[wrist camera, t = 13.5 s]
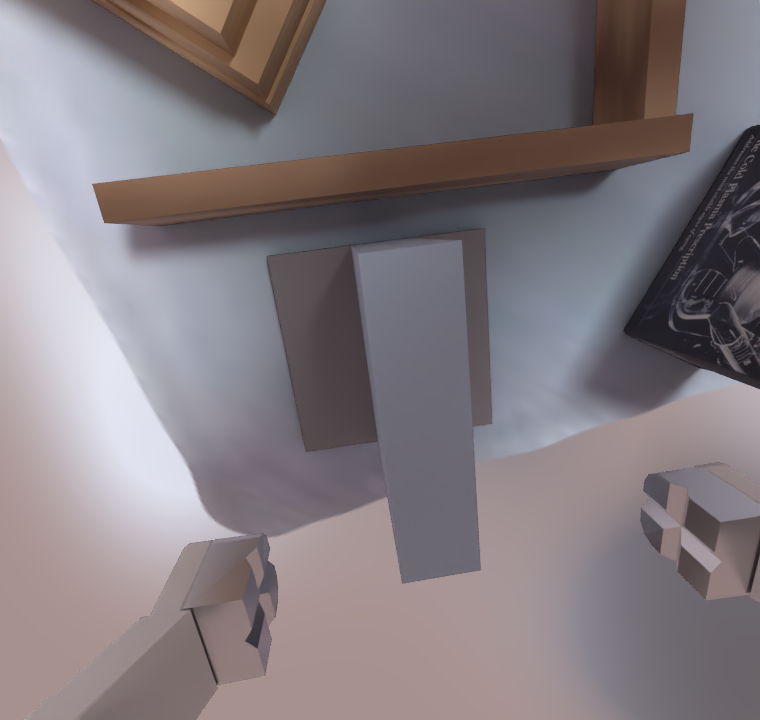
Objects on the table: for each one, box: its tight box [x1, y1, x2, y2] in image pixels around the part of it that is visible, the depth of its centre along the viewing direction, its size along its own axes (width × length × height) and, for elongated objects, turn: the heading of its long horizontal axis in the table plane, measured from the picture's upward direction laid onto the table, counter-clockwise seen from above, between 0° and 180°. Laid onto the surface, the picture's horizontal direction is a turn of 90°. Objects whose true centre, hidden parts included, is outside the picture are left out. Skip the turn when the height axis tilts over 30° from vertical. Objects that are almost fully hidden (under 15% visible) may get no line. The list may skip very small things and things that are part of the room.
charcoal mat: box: [267, 229, 492, 452], centre depth 24 cm, size 12×12×1 cm
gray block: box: [351, 238, 481, 583], centre depth 18 cm, size 12×3×11 cm, turn 7°
